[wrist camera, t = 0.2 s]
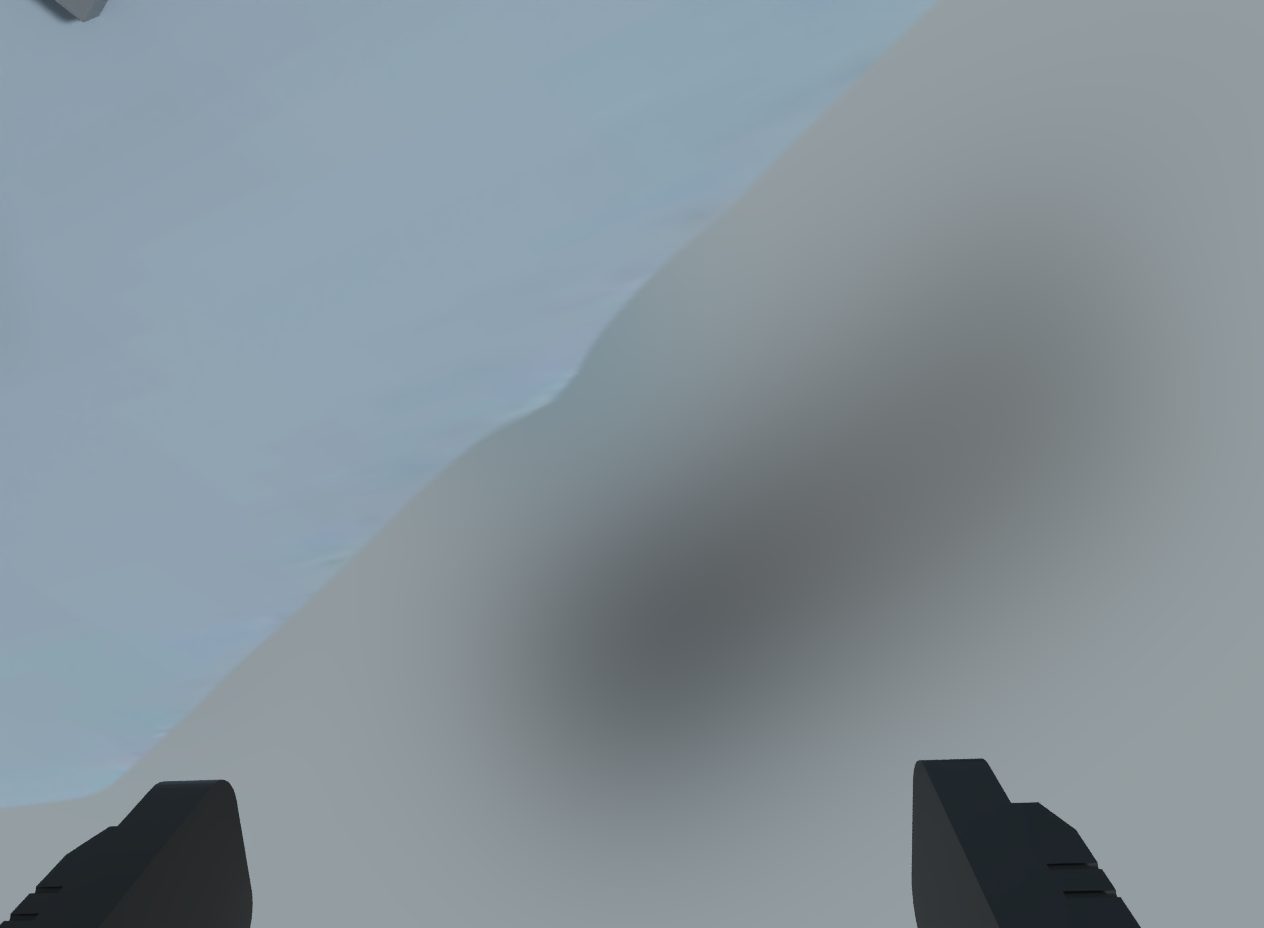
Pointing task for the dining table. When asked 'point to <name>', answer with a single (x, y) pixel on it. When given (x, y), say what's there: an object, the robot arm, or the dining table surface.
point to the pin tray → (83, 8)
